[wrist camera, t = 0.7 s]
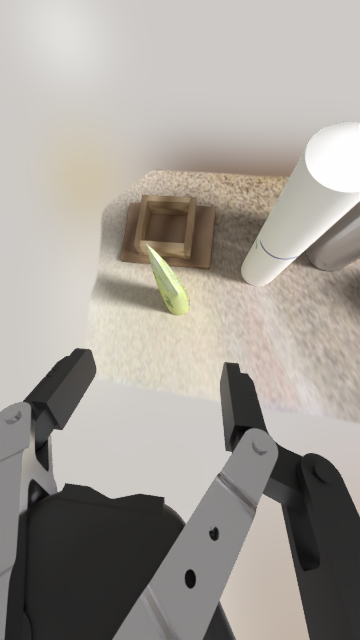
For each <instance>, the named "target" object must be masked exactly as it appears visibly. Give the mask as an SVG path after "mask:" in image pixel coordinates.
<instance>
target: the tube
mask: <svg viewBox="0 0 360 640" xmlns="http://www.w3.org/2000/svg"><path fill="white" fill-rule="evenodd" d="M146 245H147V248H148V254H149V259H150V263H151V266H152V270H153V273H154V276H155V279H156V282H157V285H158V288H159V290H160V293H161V295H162V298H163V300H164V302H165V304H166V306H167V307H168V309H169V310H170V312H171V313H173V314H175V315H183V314H185V313H186V312H187V311H188V310H189V307H190V300H189V297H188V294H187V292H186V289H185V287H184V286H183V284H182V282H181V281H180V280H179V278H178V277H177V275H176V274H175V273H174V272H173V270H172V269H171V268H170V267H169V265H168V264H167V263H166V262H165V261H164V260H163V259H162V258H161V257H160V256H159V255H158V254H157V253H156V252H155V251H154V250H153V249H152V248H151V247H149V246H148V244H146Z"/></svg>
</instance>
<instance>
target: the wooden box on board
mask: <svg viewBox="0 0 360 640" xmlns="http://www.w3.org/2000/svg"><path fill="white" fill-rule="evenodd" d="M215 212H216V207H203V206H196V198H194V197H172V196H150V195H142V200H141V203H130V208H129V213H128V219H127V225H126V230H125V236H124V241H123V247H122V253H121V258H120V259H121V260H122V261H123V262H132V263H144V264H151V263H150V259H149V254H148V248H147V245H146V244H148V246H149V247H151V248H152V249H153V250H154V251H155V252H156V253H157V254H158V255H159V256H160V257H161V258H162V259H163V260H164V261H165V262H166V263H167V264H168V265H169V266H179V267H191V268H203V269H209V265H210V256H211V247H212V238H213V230H214V221H215Z"/></svg>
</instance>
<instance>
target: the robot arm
mask: <svg viewBox="0 0 360 640" xmlns="http://www.w3.org/2000/svg"><path fill="white" fill-rule="evenodd" d="M306 254H307V257H308V259H309V261H310V262H311V263H312V264H313V265H314V266H316V267H317V268H319V269H322V270H325V271H335V270H339V269H341V268H343V267H345V266H347V265H349V264H350V263H352V262H354V261H356V260H358V259H360V201H359V202H358V203H357V204H356V205H355V206H354V207H353V208H351V209H350V210H349V211H348V212H347V213H346V214H345V215H344V216H343V217H341V218H340V219H339V220H338V221H337V222H336V223H335V224H334V225H333V226H331V227H330V228H329V229H328V230H327V231H326V232H325V233H324V234H323V235H321V236H320V237H319V238H318V239H317V240H316V241H315V242H314V243H313V244H311V245H310V246H309V247H308V248H307V249H306ZM95 374H96V365H95V362H94V358H93V355H92V352H91V350H90V349H79V348H77V349H75V350H74V351H73V352H72V353H71V355H70V356H66V357H64V358H63V359H62V360H60V361H58V362H57V363H56V365H55V366H54V367H53V368H52V369H51V371H49V373H48V374H47V375H46V377H44V378H43V379H42V381H41V382H40V383H39V384H38V385H37V386H36V387H35V388H34V390H33V391H32V392H31V393H30V394H29V395H28V396H27V397H26V399H25V400H24V401H23V402H19V403H15V404H13V405H10V406H8V407H7V408H5V409H4V410H2V411H1V412H0V640H236V639H235V636H234V634H233V632H232V629H231V627H230V625H229V622H228V620H227V618H226V615H225V613H224V610H223V608H222V606H221V603H220V601H219V600H220V597H221V595H222V593H223V590H224V588H225V586H226V583H227V581H228V578H229V576H230V574H231V571H232V569H233V567H234V564H235V561H236V560H237V557H238V555H239V552H240V550H241V548H242V545H243V543H244V541H245V538H246V536H247V533H248V531H249V529H250V526H251V524H252V522H253V519H254V516H255V513H256V508H257V505H258V502H259V500H260V497H261V495H262V493H263V494H264V495H266V496H268V497H270V498H272V499H274V500H276V501H277V502H279V503H281V505H282V511H283V515H284V520H285V524H286V530H287V534H288V539H289V544H290V548H291V553H292V558H293V562H294V567H295V572H296V577H297V581H298V586H299V590H300V596H301V600H302V605H303V610H304V614H305V619H306V624H307V628H308V633H309V638H310V640H360V517H359V514H358V512H357V510H356V508H355V505H354V503H353V501H352V499H351V497H350V494H349V492H348V490H347V488H346V485H345V483H344V481H343V479H342V477H341V475H340V473H339V472H338V470H337V469H336V468H335V467H334V465H333V464H332V463H331V462H329V461H328V460H327V459H325V458H324V457H322V456H320V455H318V454H314V453H309V454H306V455H305V456H303V457H302V456H300V455H298V454H296V453H294V452H291V451H289V450H287V449H285V448H283V447H281V446H280V445H278V444H277V443H276V442H275V441H274V440H273V438H272V437H271V436H270V435H269V433H268V431H267V429H266V426H265V423H264V419H263V415H262V412H261V408H260V404H259V401H258V397H257V393H256V390H255V386H254V383H253V381H252V379H251V378H250V377H249V375H248V374H245V373H240V368H239V364H238V363H228V362H225V363H224V366H223V371H222V376H221V380H220V394H221V405H222V416H223V426H224V437H225V448H226V451H231V452H232V455H231V456H230V458H229V459H228V461H227V463H226V464H225V466H224V467H223V469H222V471H221V472H220V473H219V474H218V475H217V476H216V478H215V479H214V481H213V482H212V484H211V486H210V487H209V489H208V490H207V492H206V494H205V495H204V497H203V498H202V500H201V502H200V503H199V505H198V506H197V508H196V510H195V511H194V513H193V514H192V516H191V518H190V519H189V521H188V522H187V524H185V522H184V521H183V520H182V518H181V517H180V516H179V515H178V514H177V512H175V511H174V510H173V509H172V508H171V507H169V506H167V505H166V504H165V502H164V497H157V496H151V495H144V494H136V495H131V496H126V497H121V498H116V499H110V498H108V497H106V496H104V495H102V494H101V493H99V492H97V491H96V490H94V489H92V488H91V487H88V486H81V485H74V484H65V486H64V488H63V490H62V491H60V492H57V486H56V482H55V480H54V476H53V466H52V445H51V436H50V434H51V432H52V431H53V429H58V430H63V428H64V426H65V425H66V423H67V422H68V420H69V418H70V417H71V415H72V413H73V411H74V410H75V408H76V407H77V405H78V403H79V402H80V400H81V398H82V397H83V395H84V393H85V392H86V390H87V388H88V387H89V385H90V383H91V382H92V380H93V378H94V377H95Z"/></svg>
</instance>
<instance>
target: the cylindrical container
mask: <svg viewBox="0 0 360 640" xmlns="http://www.w3.org/2000/svg"><path fill="white" fill-rule="evenodd" d="M359 201H360V123H358V122H339V123H335V124H331V125H328V126H326V127H324V128H322V129H321V130H319V131H318V132H317V133H316V134H315V135H314V136H313V137H312V138H311V139H310V141H309V143H308V145H307V146H306V149H305V150H304V152H303V154H302V156H301V158H300V159H299V161H298V163H297V165H296V167H295V169H294V170H293V172H292V174H291V176H290V178H289V179H288V181H287V183H286V185H285V187H284V189H283V190H282V192H281V194H280V196H279V198H278V200H277V201H276V203H275V205H274V207H273V209H272V211H271V212H270V214H269V216H268V218H267V220H266V222H265V223H264V225H263V227H262V229H261V231H260V233H259V234H258V236H257V238H256V240H255V242H254V244H253V245H252V247H251V249H250V251H249V253H248V255H247V256H246V258H245V260H244V262H243V264H242V267H241V274H242V277H243V278H244V280H245V281H246V282H247V283H249V284H251V285H254V286H263V285H266V284H268V283H269V282H270V281H271V280H273V279H274V278H275V277H276V276H277V275H278V274H279V273H280V272H281V271H283V270H284V269H285V268H286V267H287V266H288V265H289V264H290V263H291V262H293V261H294V260H295V259H296V258H297V257H298V256H299V255H300V254H301V253H303V252H304V251H305V250H306V249H307V248H308V247H309V246H310V245H311V244H313V243H314V242H315V241H316V240H317V239H318V238H319V237H320V236H321V235H323V234H324V233H325V232H326V231H327V230H328V229H329V228H330V227H331V226H333V225H334V224H335V223H336V222H337V221H338V220H339V219H340V218H341V217H343V216H344V215H345V214H346V213H347V212H348V211H349V210H350V209H351V208H353V207H354V206H355V205H356V204H357V203H358V202H359Z"/></svg>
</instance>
